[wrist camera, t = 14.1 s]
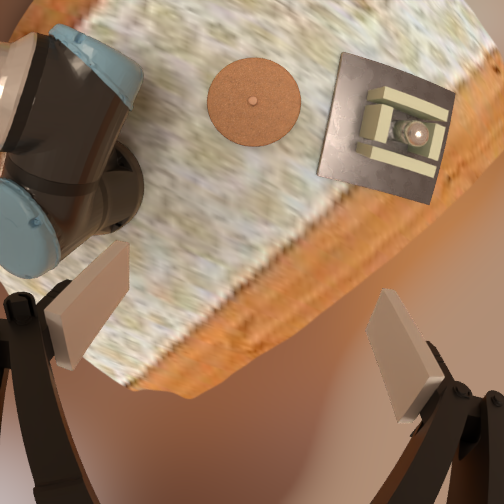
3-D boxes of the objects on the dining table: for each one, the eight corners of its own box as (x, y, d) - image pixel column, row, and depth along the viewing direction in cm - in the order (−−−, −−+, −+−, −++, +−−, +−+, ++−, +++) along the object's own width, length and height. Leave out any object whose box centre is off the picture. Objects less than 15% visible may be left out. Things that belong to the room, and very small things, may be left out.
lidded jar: (219, 66, 39) (206, 54, 31) (298, 70, 39) (305, 58, 30) (215, 140, 43) (202, 146, 35) (293, 144, 43) (298, 151, 34)
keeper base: (316, 173, 44) (329, 191, 34) (341, 53, 37) (361, 35, 27) (425, 202, 45) (460, 225, 35) (450, 93, 38) (492, 92, 27)
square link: (355, 151, 41) (370, 158, 35) (368, 90, 38) (385, 86, 31) (412, 168, 42) (433, 177, 35) (425, 110, 38) (448, 110, 32)
